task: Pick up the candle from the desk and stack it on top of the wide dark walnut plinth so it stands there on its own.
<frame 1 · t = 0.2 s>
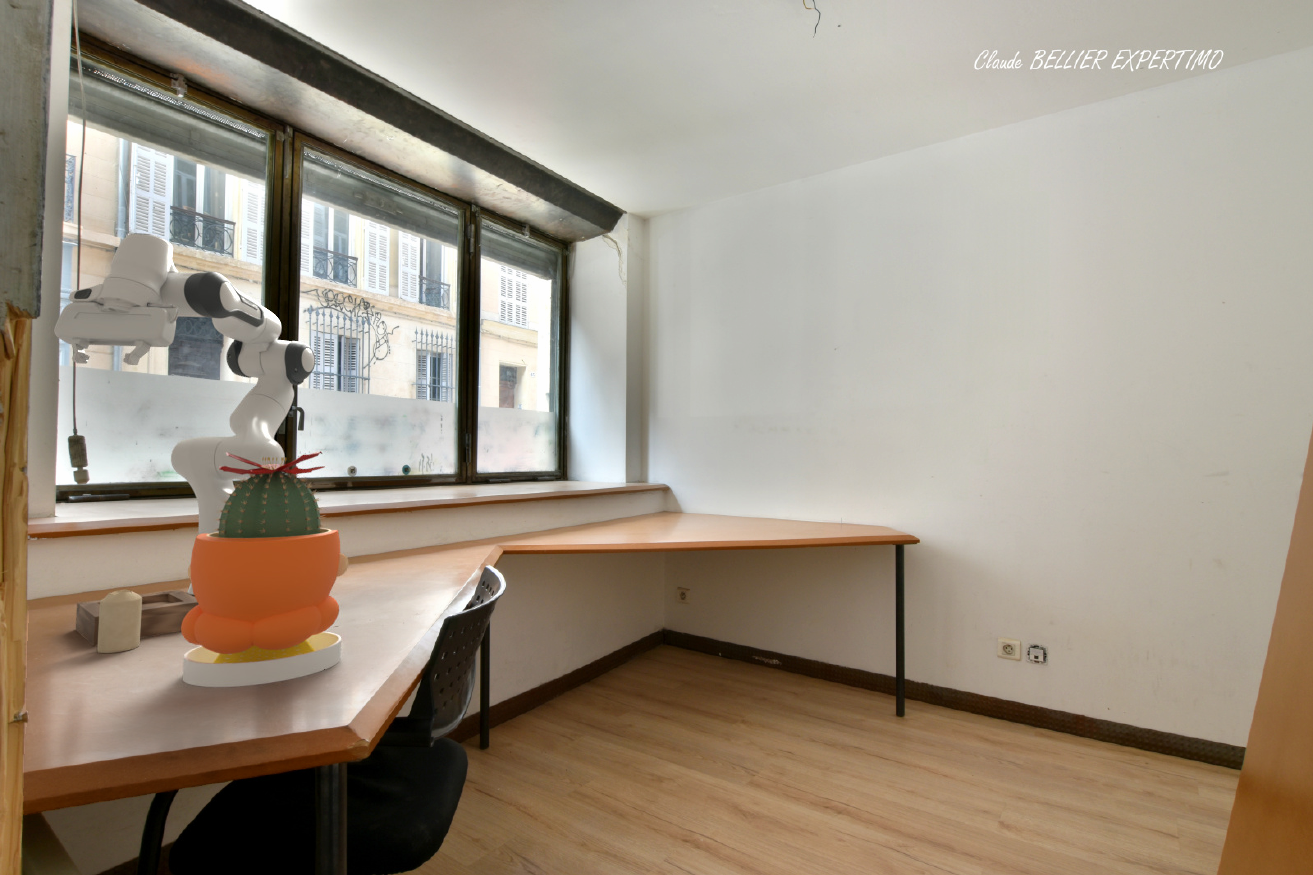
hand: (104, 362, 116), 52 cm above the table, tool tilted 20°, fingers open, 8 cm apart
candle: (118, 649, 104), on the table
walnut block: (139, 630, 117), on the table
potted cactus: (264, 672, 94), on the table
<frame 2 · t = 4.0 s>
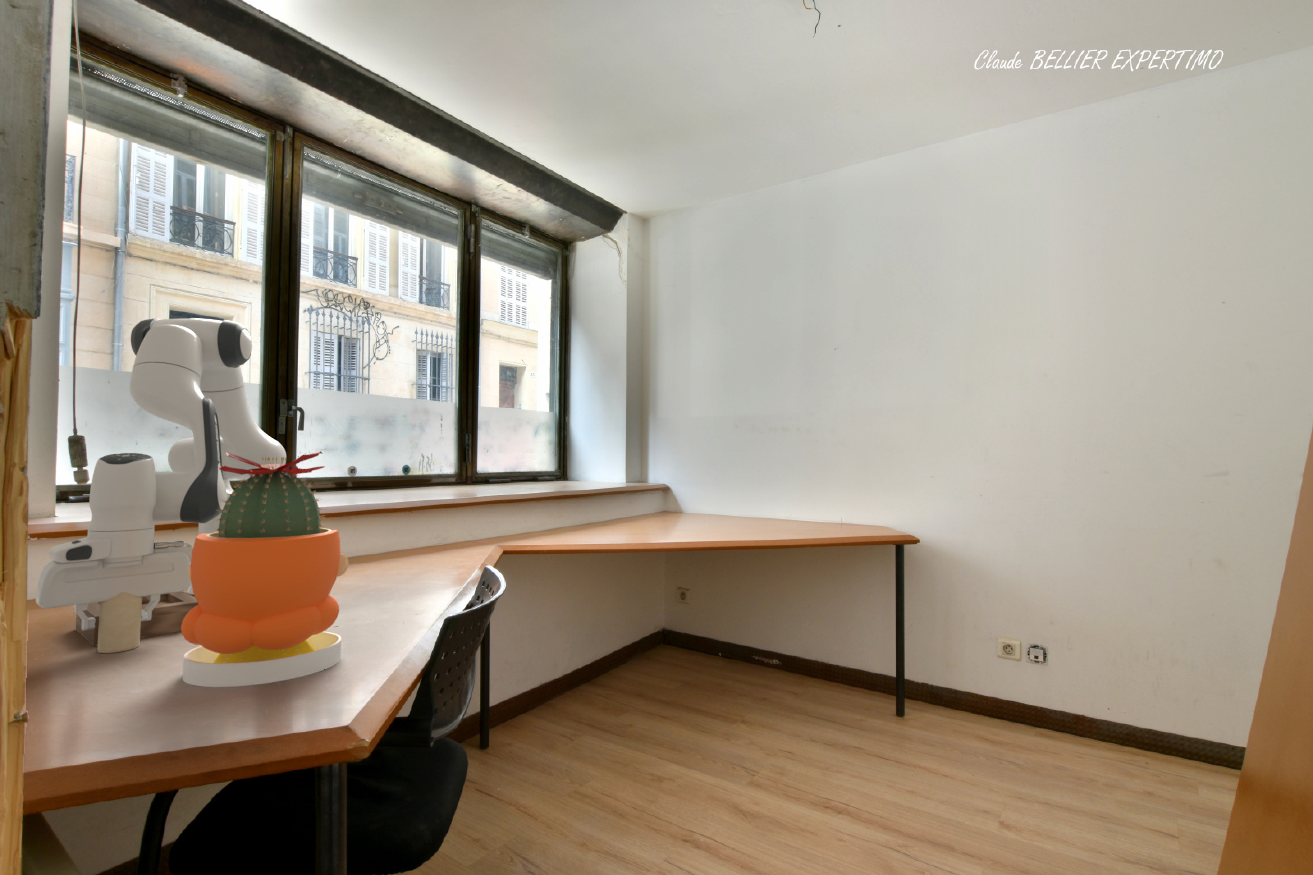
hand: (117, 624, 105), 4 cm above the table, tool pointing down, fingers open, 6 cm apart
candle: (118, 649, 104), on the table, touching gripper
everything else where it was.
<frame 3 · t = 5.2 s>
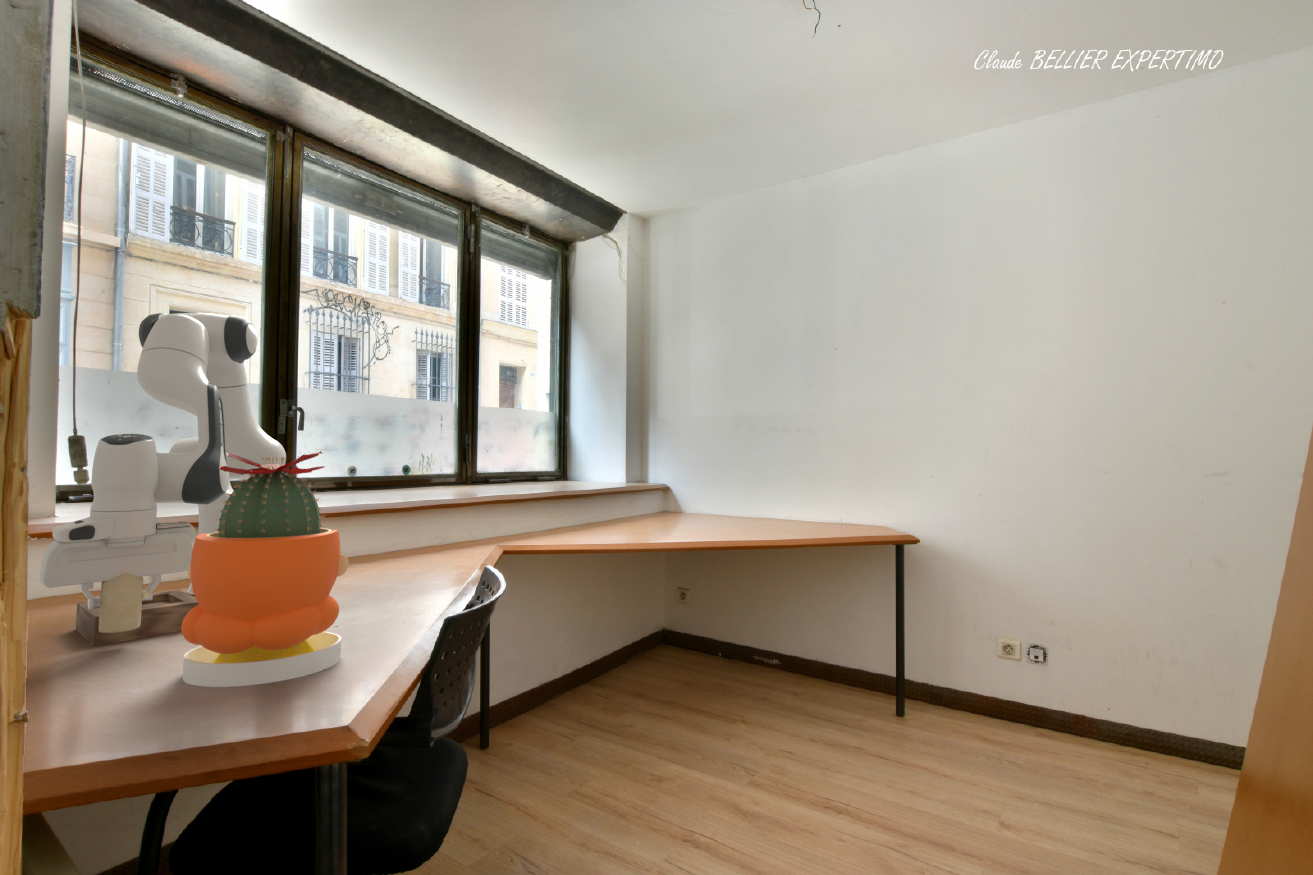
hand: (120, 604, 105), 8 cm above the table, tool pointing down, fingers closed on candle, 5 cm apart
candle: (119, 630, 105), point 3 cm above the table, touching gripper
everything else where it was.
when the fingers open (9 cm above the table, at t = 10.3 s): candle stays where it is, point 3 cm above the table.
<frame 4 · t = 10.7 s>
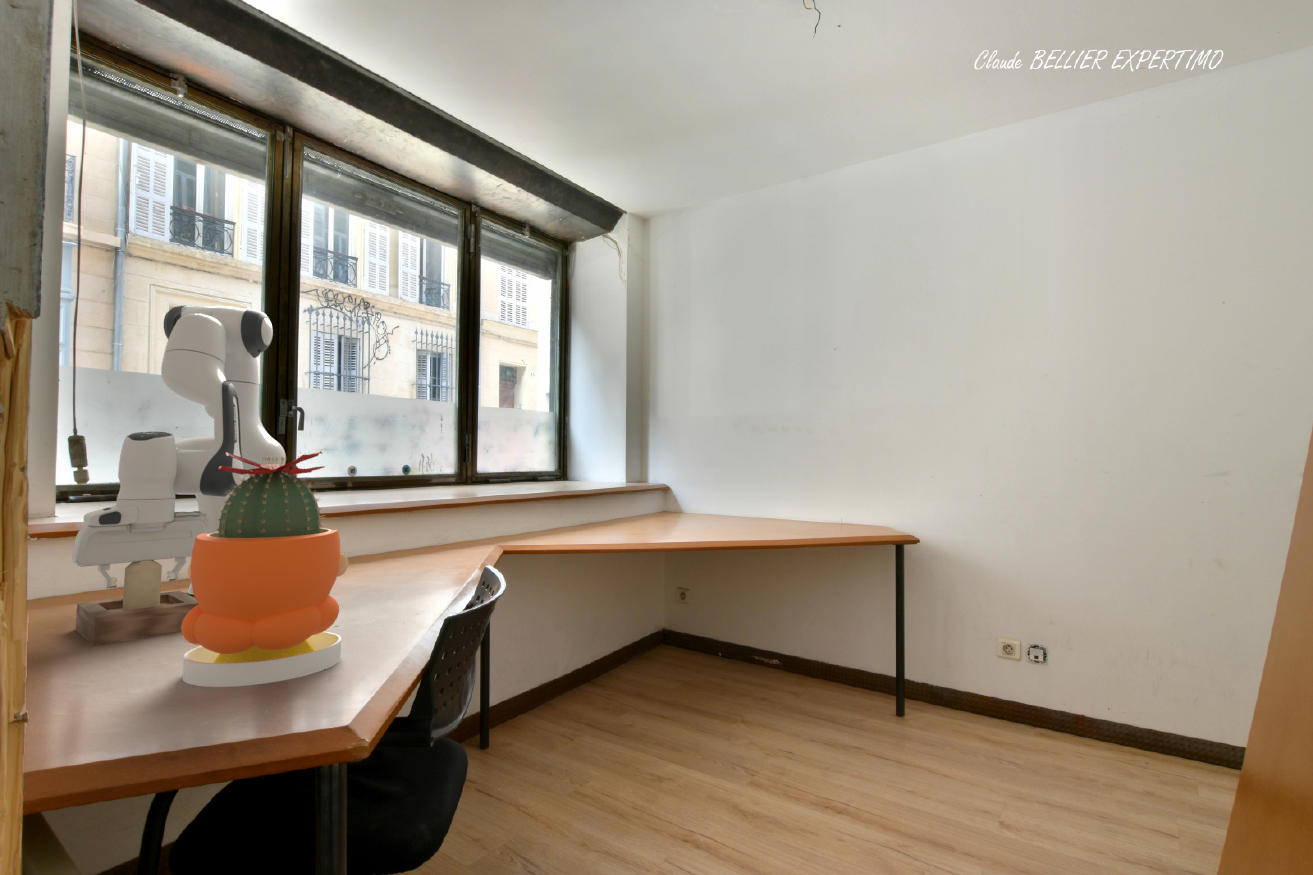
hand: (142, 583, 117), 9 cm above the table, tool pointing down, fingers open, 8 cm apart
candle: (141, 611, 117), point 3 cm above the table
everything else where it was.
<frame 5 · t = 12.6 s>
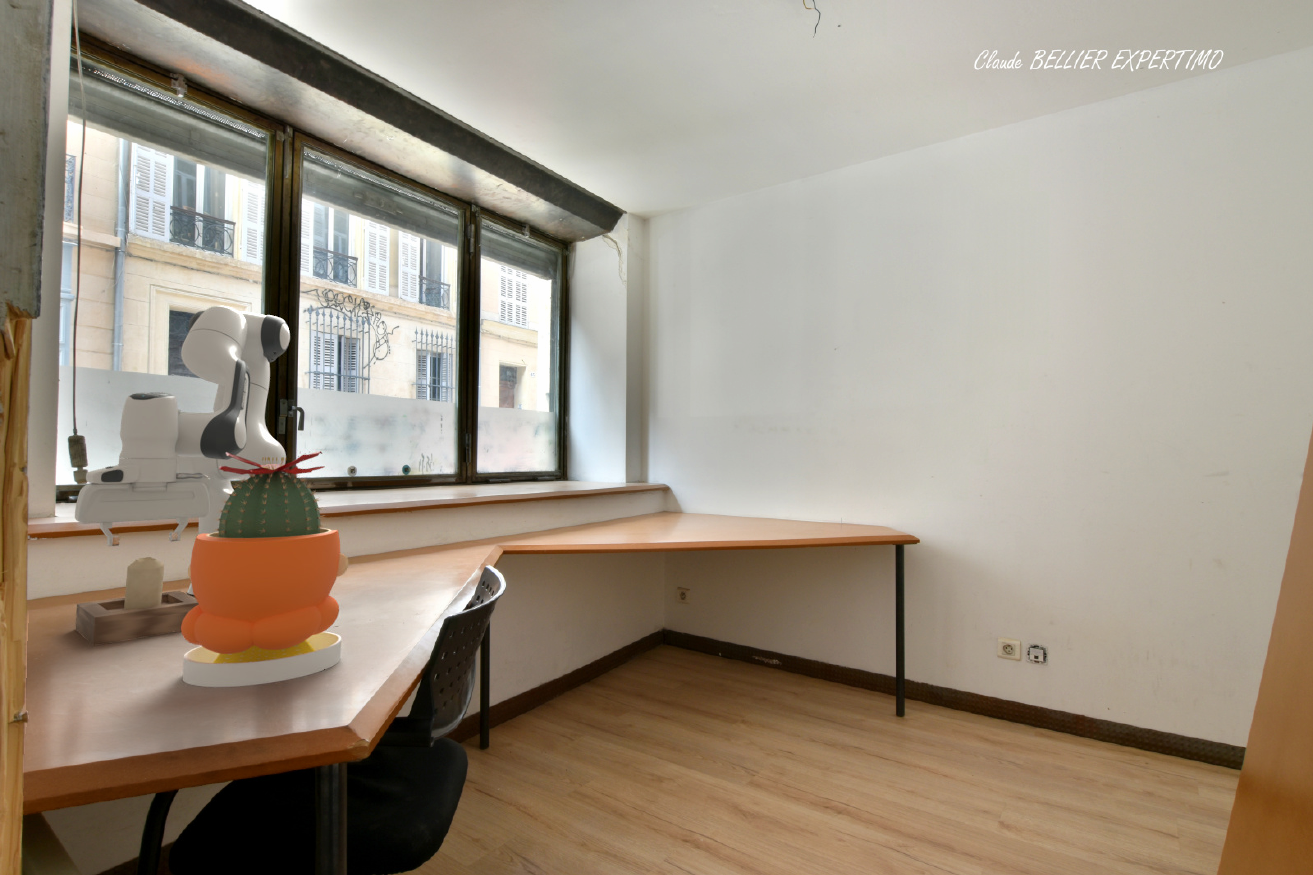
hand: (144, 543, 118), 16 cm above the table, tool pointing down, fingers open, 8 cm apart
candle: (142, 610, 117), point 3 cm above the table, touching walnut block
walnut block: (139, 631, 117), on the table, touching candle
everything else where it was.
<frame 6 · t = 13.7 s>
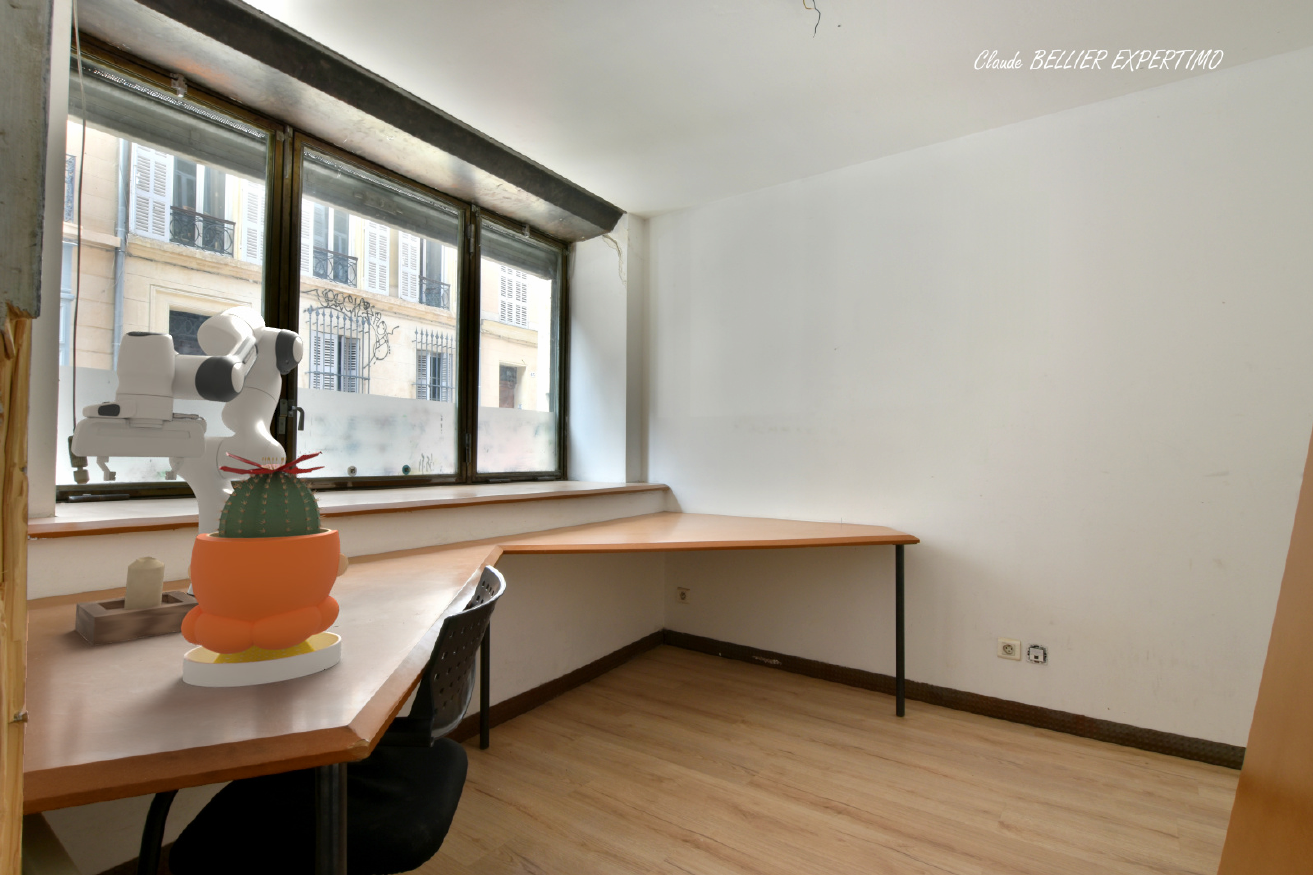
hand: (141, 480, 119), 29 cm above the table, tool pointing down, fingers open, 8 cm apart
candle: (142, 609, 117), point 4 cm above the table
walnut block: (139, 630, 117), on the table
everything else where it was.
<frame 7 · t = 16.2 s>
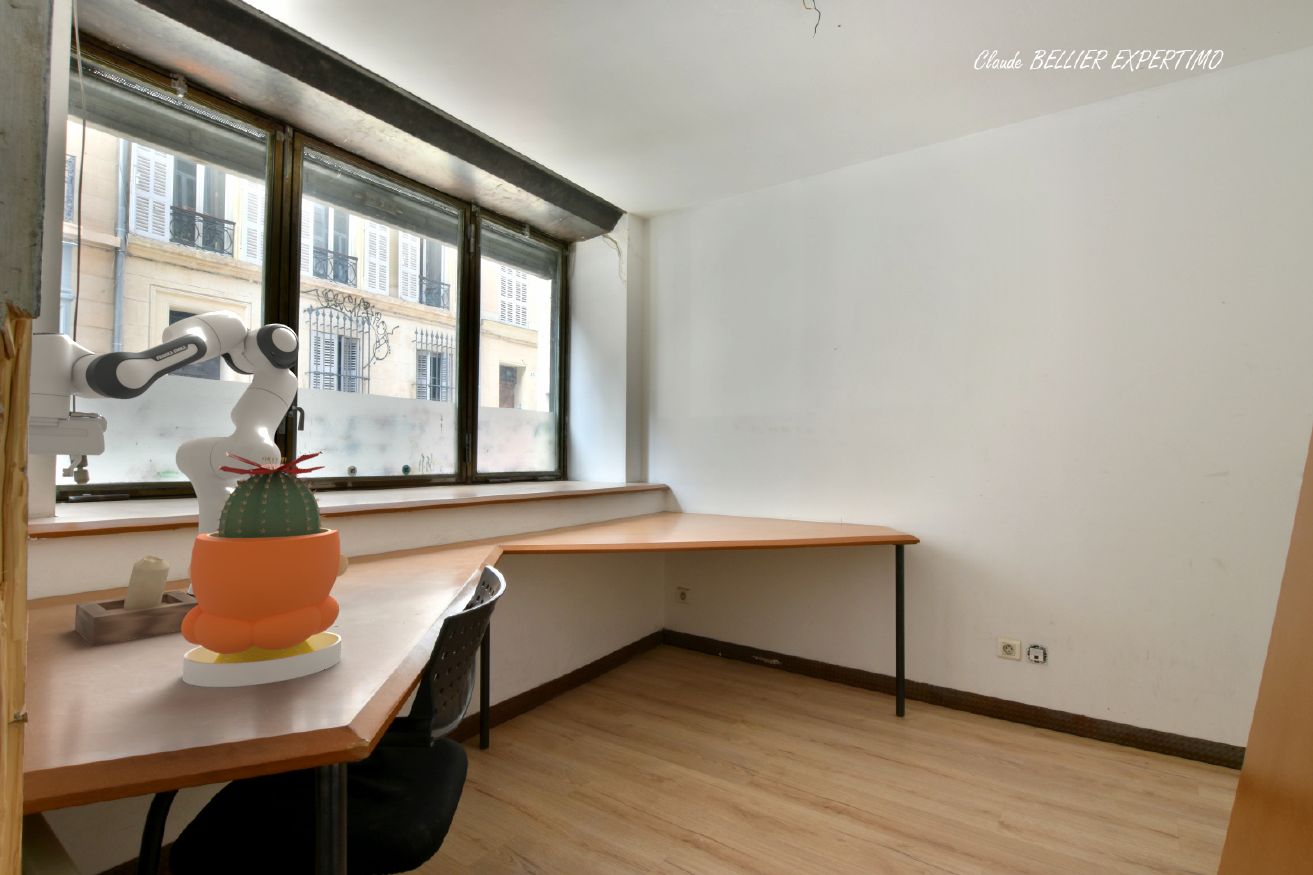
hand: (35, 477, 122), 29 cm above the table, tool pointing down, fingers open, 8 cm apart
candle: (141, 607, 117), point 4 cm above the table, touching walnut block
walnut block: (139, 631, 117), on the table, touching candle
everything else where it was.
at the end: candle inside the target area on the walnut block (0.3 cm from its centre), point 4.5 cm above the walnut block's base; candle tilted 15°; the gripper is holding nothing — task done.
